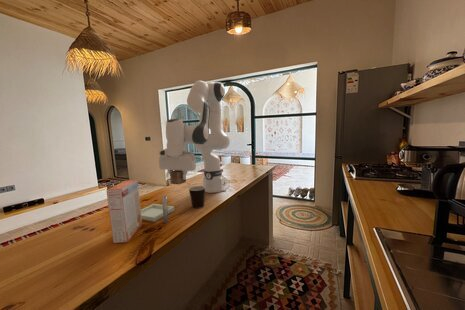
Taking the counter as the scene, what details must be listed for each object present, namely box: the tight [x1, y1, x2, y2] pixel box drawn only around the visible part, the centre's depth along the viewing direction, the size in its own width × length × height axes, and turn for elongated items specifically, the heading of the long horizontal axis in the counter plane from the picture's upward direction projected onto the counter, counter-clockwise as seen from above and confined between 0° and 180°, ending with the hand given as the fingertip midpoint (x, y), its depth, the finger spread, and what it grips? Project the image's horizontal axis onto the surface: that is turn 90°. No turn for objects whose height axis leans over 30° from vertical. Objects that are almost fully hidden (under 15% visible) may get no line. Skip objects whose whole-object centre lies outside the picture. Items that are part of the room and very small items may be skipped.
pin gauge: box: [161, 195, 169, 224], centre depth 90 cm, size 2×2×12 cm
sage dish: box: [141, 203, 175, 223], centre depth 100 cm, size 14×14×2 cm
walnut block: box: [169, 170, 187, 186], centre depth 100 cm, size 5×5×6 cm
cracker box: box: [106, 179, 143, 244], centre depth 80 cm, size 14×6×21 cm, turn 3°
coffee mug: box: [188, 185, 206, 209], centre depth 110 cm, size 12×9×10 cm
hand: (178, 178), depth 100 cm, fingers closed on walnut block, 5 cm apart
